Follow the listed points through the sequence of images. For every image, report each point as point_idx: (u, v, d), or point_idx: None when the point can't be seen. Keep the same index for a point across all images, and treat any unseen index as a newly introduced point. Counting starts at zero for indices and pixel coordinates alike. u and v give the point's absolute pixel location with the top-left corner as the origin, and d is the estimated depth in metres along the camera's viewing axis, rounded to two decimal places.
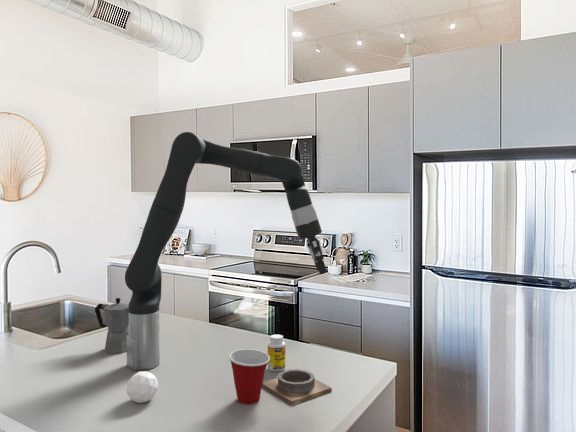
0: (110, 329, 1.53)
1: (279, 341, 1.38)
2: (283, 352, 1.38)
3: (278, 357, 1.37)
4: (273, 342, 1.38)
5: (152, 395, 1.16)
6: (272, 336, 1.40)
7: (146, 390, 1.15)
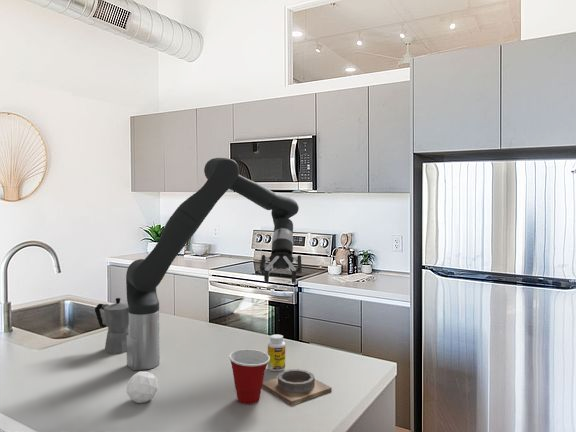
0: (110, 329, 1.53)
1: (279, 341, 1.38)
2: (283, 352, 1.38)
3: (278, 357, 1.37)
4: (273, 342, 1.38)
5: (152, 395, 1.16)
6: (272, 336, 1.40)
7: (146, 390, 1.15)
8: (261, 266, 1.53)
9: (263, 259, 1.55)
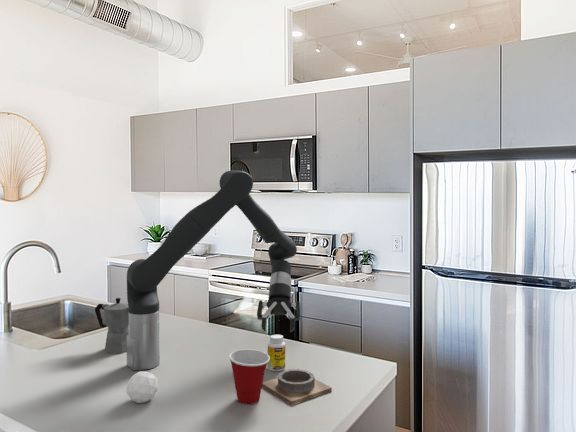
0: (110, 329, 1.53)
1: (279, 341, 1.38)
2: (283, 352, 1.38)
3: (278, 357, 1.37)
4: (273, 342, 1.38)
5: (152, 395, 1.16)
6: (272, 336, 1.40)
7: (146, 390, 1.15)
8: (258, 313, 1.48)
9: (260, 305, 1.50)
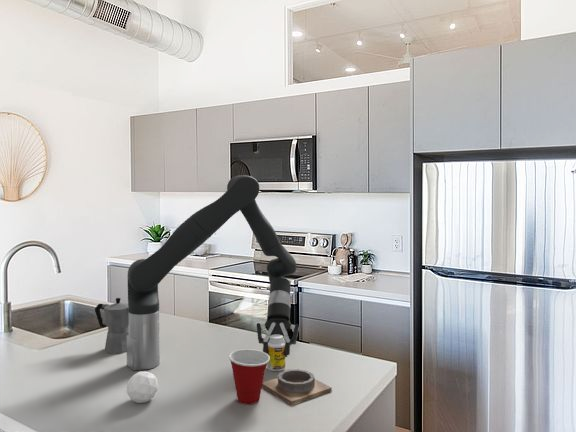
0: (110, 329, 1.53)
1: (279, 341, 1.38)
2: (283, 352, 1.38)
3: (278, 357, 1.37)
4: (273, 342, 1.38)
5: (152, 395, 1.16)
6: (272, 336, 1.40)
7: (146, 390, 1.15)
8: (259, 336, 1.41)
9: (259, 328, 1.43)
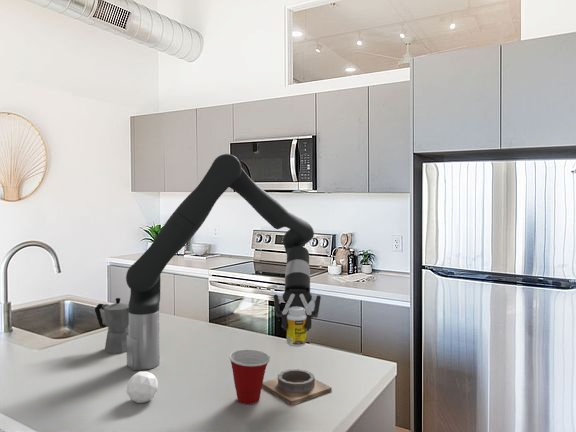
0: (110, 329, 1.53)
1: (300, 313, 1.24)
2: (305, 325, 1.25)
3: (298, 330, 1.23)
4: (293, 314, 1.24)
5: (152, 395, 1.16)
6: (292, 308, 1.26)
7: (146, 390, 1.15)
8: (277, 309, 1.27)
9: (277, 300, 1.29)
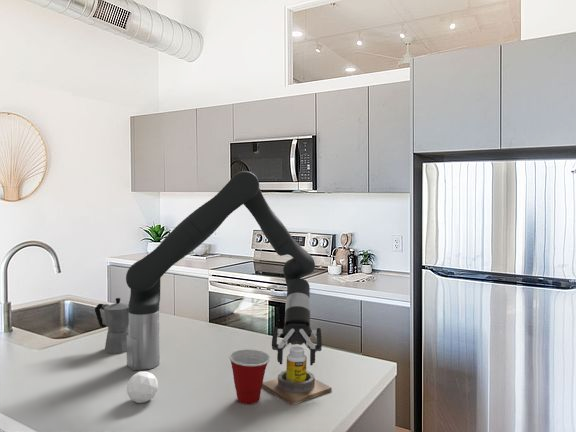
0: (110, 329, 1.53)
1: (300, 355, 1.24)
2: (305, 366, 1.24)
3: (298, 372, 1.23)
4: (293, 355, 1.24)
5: (152, 395, 1.16)
6: (292, 349, 1.25)
7: (146, 390, 1.15)
8: (273, 342, 1.27)
9: (275, 333, 1.29)
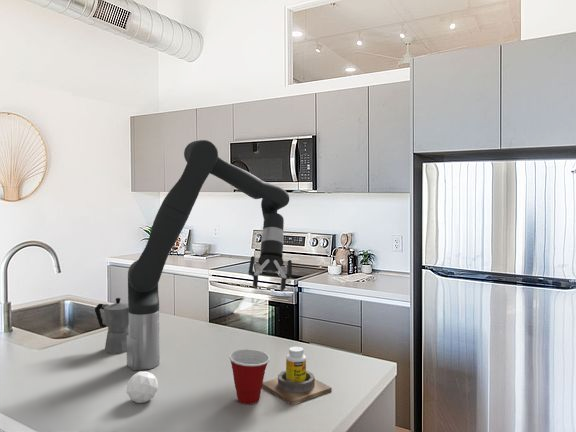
0: (110, 329, 1.53)
1: (299, 355, 1.24)
2: (304, 366, 1.24)
3: (298, 372, 1.23)
4: (292, 355, 1.24)
5: (152, 395, 1.16)
6: (291, 349, 1.25)
7: (146, 390, 1.15)
8: (250, 270, 1.47)
9: (252, 261, 1.48)
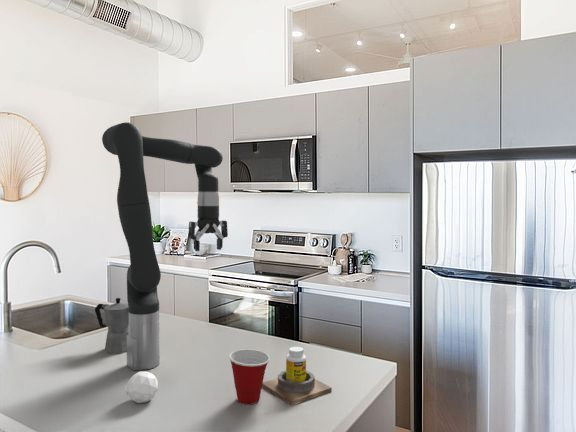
0: (110, 329, 1.53)
1: (299, 355, 1.24)
2: (304, 366, 1.24)
3: (298, 372, 1.23)
4: (292, 355, 1.24)
5: (152, 395, 1.16)
6: (291, 349, 1.25)
7: (146, 390, 1.15)
8: (192, 236, 1.55)
9: (193, 227, 1.55)
